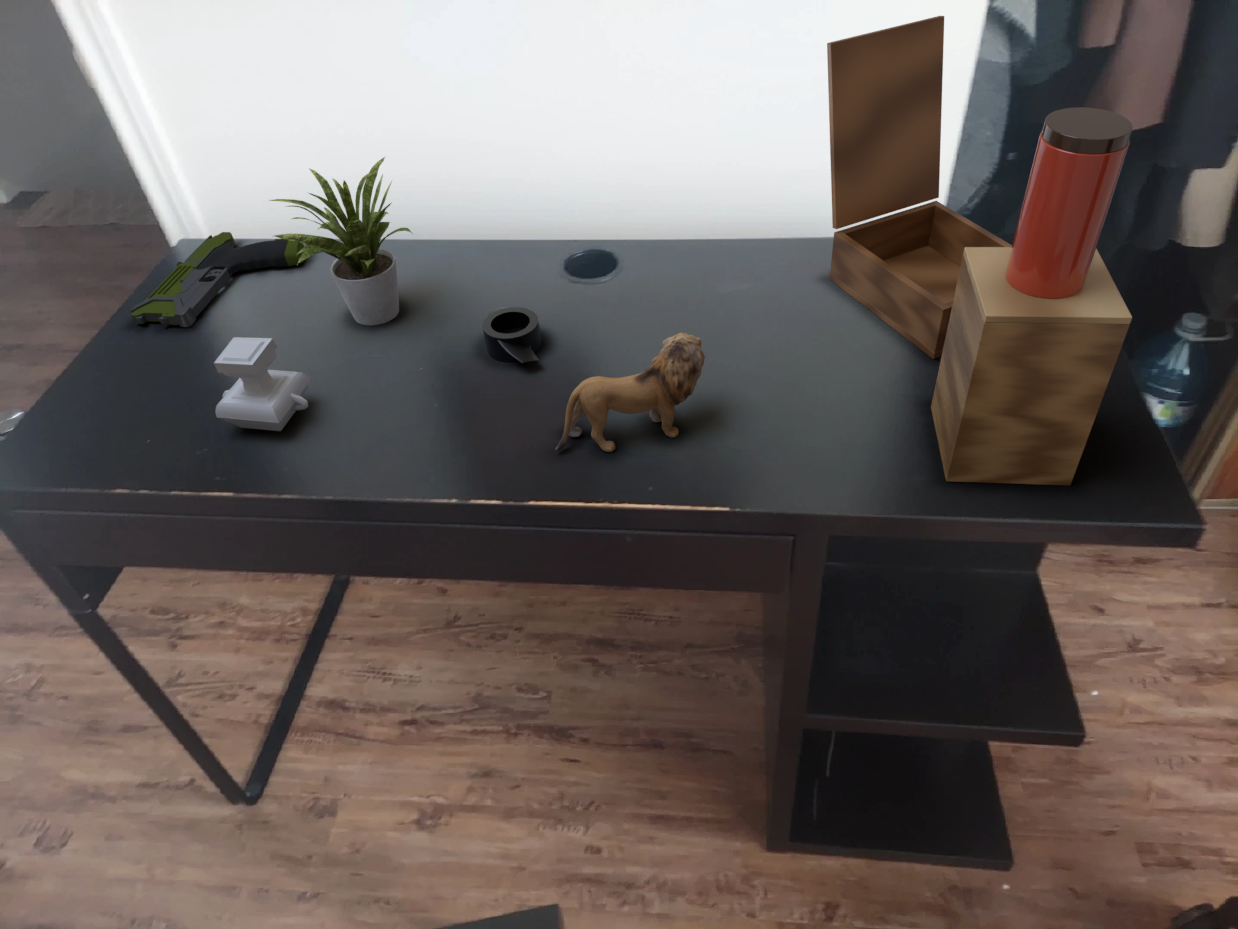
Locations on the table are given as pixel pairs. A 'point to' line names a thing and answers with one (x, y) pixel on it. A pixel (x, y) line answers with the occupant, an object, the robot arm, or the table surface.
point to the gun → (209, 277)
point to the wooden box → (908, 268)
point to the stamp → (258, 386)
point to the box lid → (885, 119)
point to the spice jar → (1067, 200)
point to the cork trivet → (1013, 306)
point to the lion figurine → (638, 391)
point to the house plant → (355, 249)
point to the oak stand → (1018, 394)
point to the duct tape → (512, 334)
